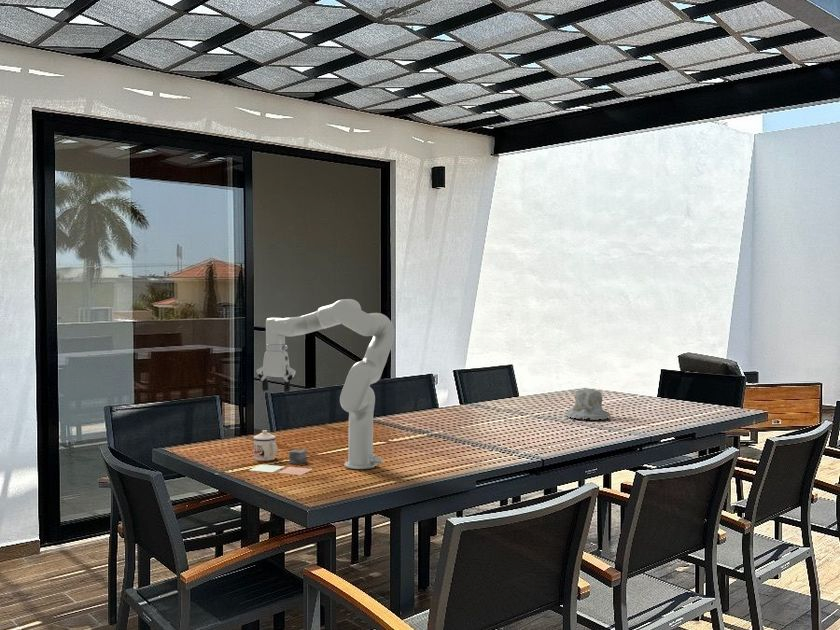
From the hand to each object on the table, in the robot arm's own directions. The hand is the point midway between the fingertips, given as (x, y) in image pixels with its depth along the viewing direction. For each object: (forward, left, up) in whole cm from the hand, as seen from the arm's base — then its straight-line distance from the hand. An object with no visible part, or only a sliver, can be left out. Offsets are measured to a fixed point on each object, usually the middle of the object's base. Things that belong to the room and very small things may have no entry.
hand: (276, 390), depth 320 cm
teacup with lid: (+4, +1, -28) cm, 28 cm away
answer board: (-11, +16, -28) cm, 34 cm away
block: (-11, +2, -28) cm, 30 cm away
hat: (-107, -150, -28) cm, 186 cm away
